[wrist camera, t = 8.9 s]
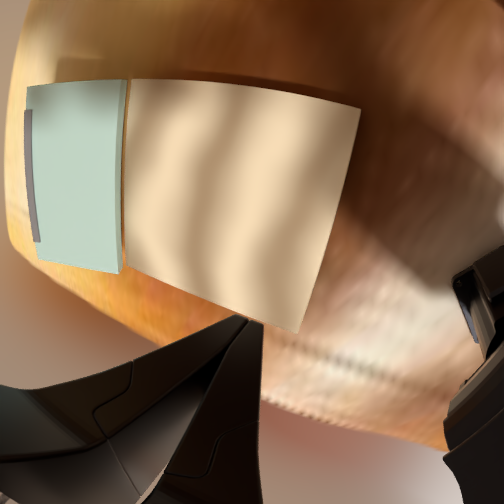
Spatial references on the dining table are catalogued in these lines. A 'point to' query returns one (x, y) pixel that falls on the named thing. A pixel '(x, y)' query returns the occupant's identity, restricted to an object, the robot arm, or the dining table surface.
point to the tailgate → (75, 171)
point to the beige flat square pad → (234, 191)
